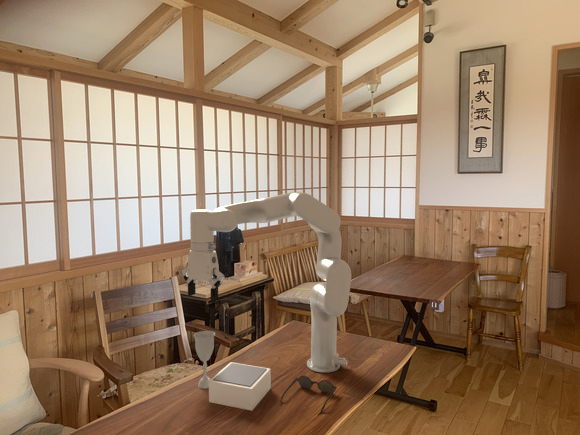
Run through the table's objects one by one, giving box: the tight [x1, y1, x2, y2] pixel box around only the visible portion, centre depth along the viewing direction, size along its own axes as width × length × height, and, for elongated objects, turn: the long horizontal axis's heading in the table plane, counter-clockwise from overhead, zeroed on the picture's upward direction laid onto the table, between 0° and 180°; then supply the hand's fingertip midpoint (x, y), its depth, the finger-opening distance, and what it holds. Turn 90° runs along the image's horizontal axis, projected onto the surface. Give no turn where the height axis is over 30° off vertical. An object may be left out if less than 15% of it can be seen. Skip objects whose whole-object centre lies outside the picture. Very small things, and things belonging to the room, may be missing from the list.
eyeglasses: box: [279, 374, 337, 416], centre depth 144 cm, size 15×15×5 cm
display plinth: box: [208, 361, 272, 411], centre depth 146 cm, size 15×15×7 cm
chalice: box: [193, 330, 216, 390], centre depth 152 cm, size 7×7×18 cm
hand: (202, 297), depth 150 cm, fingers open, 9 cm apart
